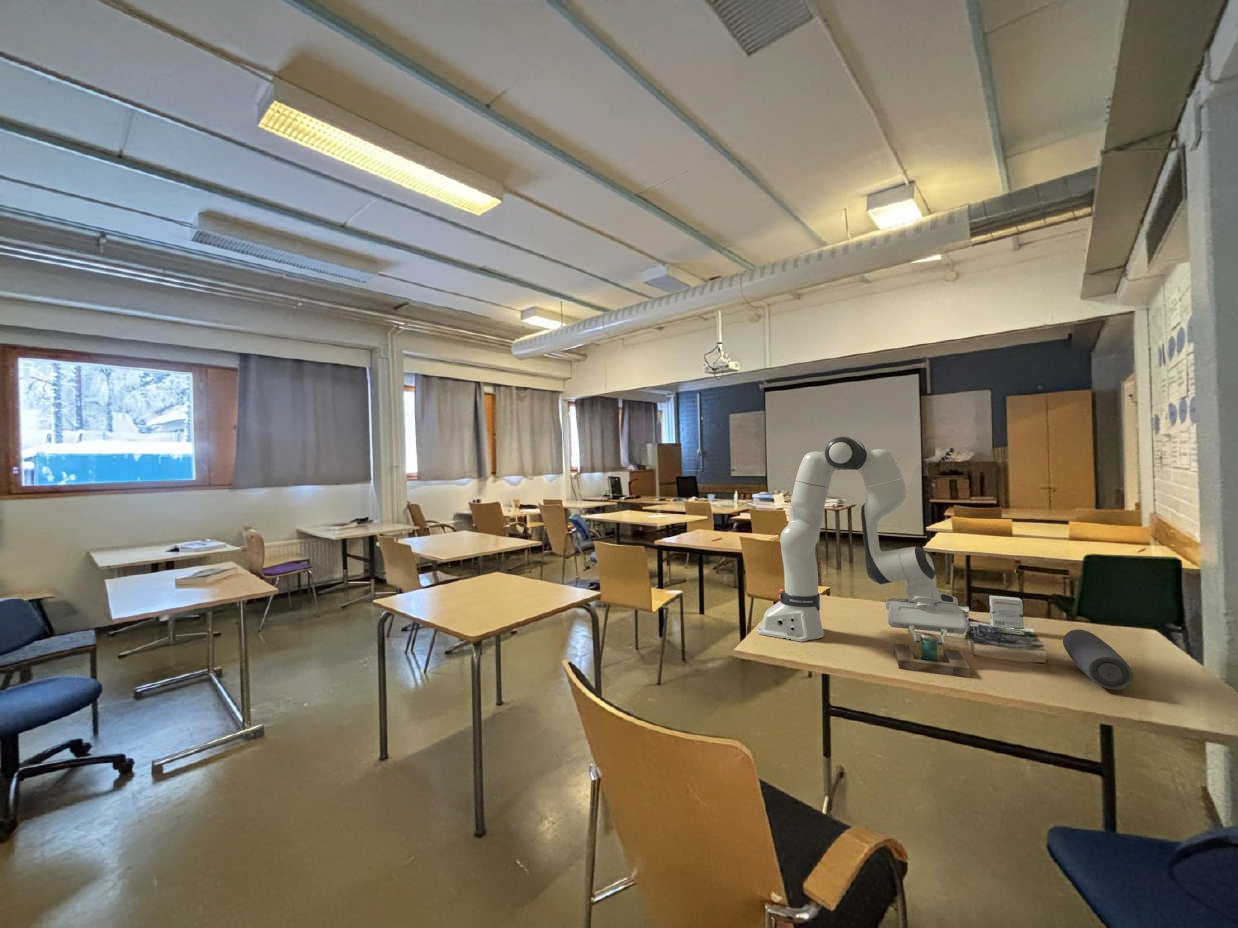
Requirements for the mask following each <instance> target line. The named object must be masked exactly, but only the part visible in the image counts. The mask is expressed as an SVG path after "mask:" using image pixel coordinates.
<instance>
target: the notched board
mask: <svg viewBox="0 0 1238 928" xmlns="http://www.w3.org/2000/svg"><path fill="white" fill-rule="evenodd" d="M893 651H894V656H895V660H896V662H897V666H898V669H899V670H908V671H914V672H915V671H916V672H923V673H933V674H940V675H948V676H956V677H962V678H971V668H970V666H969V664H968V663H967V661H966V659H965V658H964V657H963V655H962V653H961V651H960V650H958V649H949V648H943V649H942V651H943V653H942V655H943V659H944V661H945V662H942V661H941V662H933V661H925V660H917V658H916V659H915V658H914V655H913V652H912V650H911V648H910V645H909V644H903V643H893Z"/></svg>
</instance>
